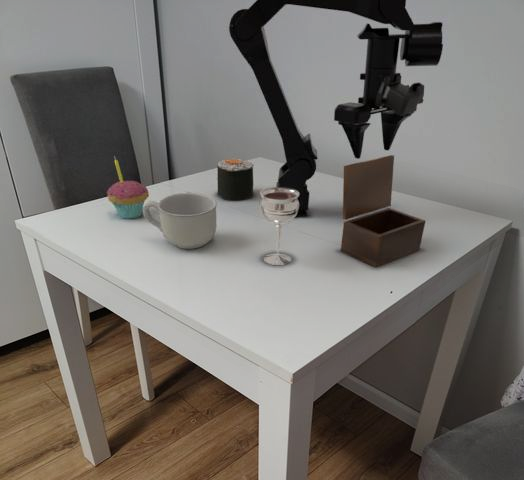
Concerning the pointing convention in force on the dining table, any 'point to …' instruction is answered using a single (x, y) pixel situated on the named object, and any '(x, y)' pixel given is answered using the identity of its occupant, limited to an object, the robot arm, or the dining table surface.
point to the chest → (382, 236)
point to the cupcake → (127, 196)
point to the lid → (367, 186)
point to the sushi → (235, 179)
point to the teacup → (185, 218)
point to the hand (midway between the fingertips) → (372, 154)
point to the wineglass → (279, 215)
